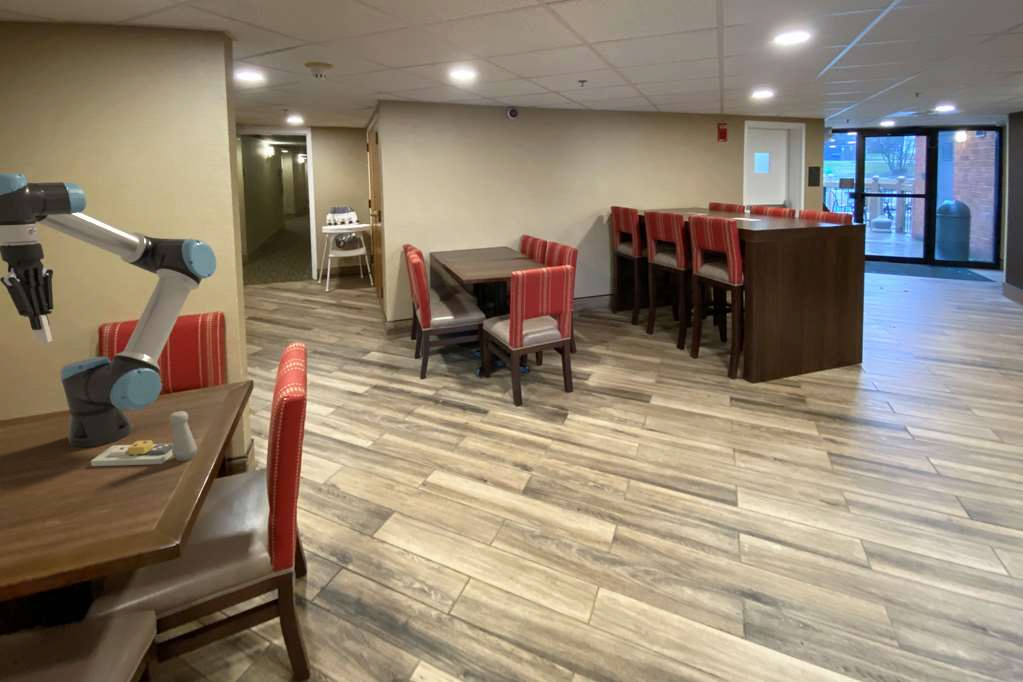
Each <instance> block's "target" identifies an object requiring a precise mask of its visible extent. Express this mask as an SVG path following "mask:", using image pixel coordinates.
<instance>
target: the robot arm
mask: <svg viewBox="0 0 1023 682" xmlns="http://www.w3.org/2000/svg"><path fill="white" fill-rule="evenodd" d="M86 207H87V198H86V193H85V192H84V190H83V188H82V187H81V186H79V185H78V184H76V183H74V182H64V181H61V182H58V181H57V182H28V181H27V179H26V177H25V175H24V174H22V173H0V244H1V245H0V257H1V260H2V262H5V263H7V275H6V276H2V277H0V282H1V284H3V285H4V286H5V288H6V290H7V291H8V294H9V296H10V298H11V300H12V303H13V305H14V307H15V308H16V310H17V312H18V315H19V316H21V317H27V318H28V320H29V324H30V328H31V329H32V331H33V335H34V339H35V342H36V344H37V343H38V344H39V343H41V344H42V343H50V342H53V337H52V333H51V329H50V321H49V317H48V315H51V314H52V310H54V297H53V281H52V279H53V274H54V270H53V269H47V268H45V267H44V264H43V262H42V261H41V260H43V259H44V258H45V254H44V250H43V246H42V244H41V243H40V242H39V241H40V235H39V231H38V227H37V224H39V225H42V226H45V227H47V228H50V229H52V230H54V231H57V232H59V233H62V234H64V235H67V236H70V237H72V238H74V239H77V240H79V241H81V242H84V243H86V244H90V245H91V246H94V247H97V248H99V249H102V250H105V251H106V252H109V253H111V254H114V255H117V256H119V258H120V259H121V260H122V261H123V262H125V263H128V264H130V265H132V266H135V267H137V268H139V269H142V270H145V271H147V272H149V273H152V274H155V275H157V277H158V281H157V282H156V283H157V284H156V285H155V287H154V289H153V291H152V293H151V295H150V297H149V299H148V302H147V303H146V305H145V307H144V309H143V311H142V313H141V316H140V317H139V319H138V322H137V323H136V326H135V328H134V329H133V331H132V333H131V336H130V338H129V339H128V341H127V344H126V346H125V348H124V350H123V351H121V352H118V353H115V354H114V356H113V358H112V359H111V360H110V358H109V357H108V356H97V357H91V358H86V359H81V360H77V361H74V362H70V363H68V364H66V365H64V366H62V368H60V380H61V383H62V387H63V389H64V390H63V391H64V394H65V397H66V401H67V405H68V410H69V413H70V421H69V426H68V428H69V429H68V433H67V438H68V443H69V445H71V446H72V447H77V448H88V447H89V448H90V447H95V446H100V445H105V444H110V443H112V442H115V441H118V440H121V439H123V438H125V437H126V436H128V435H129V434H131V432H132V431H133V425H132V421H131V420H130V419H129V417H128V416H127V414H126V413H125V411H129V410H130V411H133V410H134V411H137V410H143V409H145V408H147V407H149V406H150V405H152V404H153V403H154V402H155V401H156V400H157V398H158V397H159V396H160V393H161V391H162V387H163V384H162V383H161V381H162V379H161V377H160V375H159V373H160V371H161V368H160V366H159V364H158V360H159V358H160V356H161V354H162V352H163V350H164V348H165V346H166V343H167V342H168V340H169V337H170V335H171V333H172V331H173V329H174V326H175V324H176V322H177V320H178V317H179V315H180V313H181V311H182V309H183V307H184V305H185V303H186V300H187V298H188V296H189V294H190V292H192V291H193V290H197V289H198V288H199V286H200V284H201V281H202V280H203V279H207V278H210V277H211V276H213V274H214V273H215V271H216V268H217V257H216V255H215V252H214V250H213V248H212V247H211V245H210V244H208V243H207V242H206V241H203V240H201V239H194V238H159V237H151V236H147V235H144V234H143V233H140V232H133V233H132V232H129V231H127V230H125V229H123V228H121V227H118V226H116V225H114V224H112V223H110V222H107V221H106V220H103V219H101V218H99V217H97V216H94V215H92V214H89V213H87V212H85V209H86Z"/></svg>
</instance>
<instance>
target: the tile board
mask: <svg viewBox="0 0 1023 682" xmlns="http://www.w3.org/2000/svg"><path fill="white" fill-rule="evenodd" d="M157 444H158V443H153V447H154V446H155V445H157ZM121 445H122V444H120V445H119V444H117V445H111V446H110V447H109V448H107V449H105V450H104V451H102V452H101V453H99V454H98V455H97V456H96V457H94V458H93V459H92V460H90V463H91V467H103V466H104V467H105V466H106V467H107V466H108V467H109V466H111V467H113V466H132V465H133V466H135V465H137V466H139V465H141V466H142V465H163V464H164V463H165V462H166V461H167V460H168V459H169V458H170V457H172V456H174V455H173V453H172V449H171V450H170V451H169V452H168V453H166V454H165V455H149V452H147V453H146V455H145V454H142V455H139V454H128V455H127V456H113V457H111V456H110V452H111V451H112V450H114V449H115V448H116V447H118V446H121Z"/></svg>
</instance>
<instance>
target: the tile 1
mask: <svg viewBox="0 0 1023 682" xmlns="http://www.w3.org/2000/svg"><path fill="white" fill-rule="evenodd" d="M120 445H121V446H118V447H116V448H115V449H114V450H112V451H111V452H110V456H111V457H113V456H127V455H128V454H129V449H128V447H130V446H131V445H132V444H120Z"/></svg>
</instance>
